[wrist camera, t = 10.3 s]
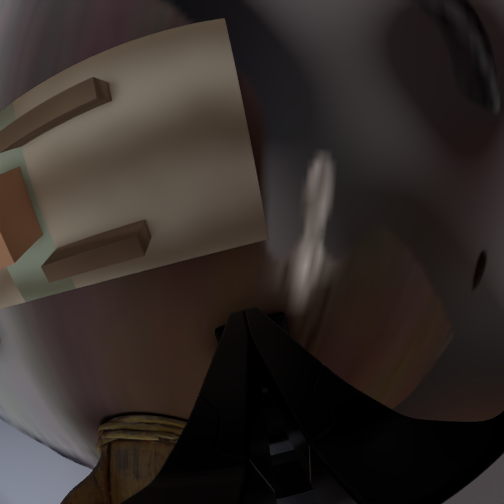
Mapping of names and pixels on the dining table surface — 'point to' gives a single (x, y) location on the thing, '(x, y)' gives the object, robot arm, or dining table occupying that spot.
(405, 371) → the dining table surface
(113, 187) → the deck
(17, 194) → the block
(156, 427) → the tankard
